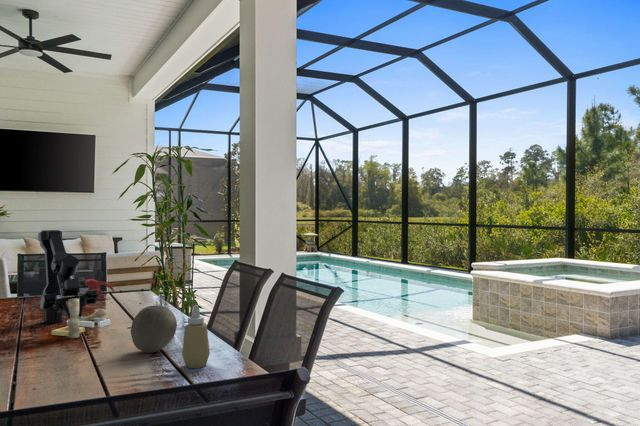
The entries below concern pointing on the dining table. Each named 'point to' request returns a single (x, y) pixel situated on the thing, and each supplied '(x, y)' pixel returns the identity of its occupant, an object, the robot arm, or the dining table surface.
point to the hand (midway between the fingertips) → (74, 317)
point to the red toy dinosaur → (96, 285)
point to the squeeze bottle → (195, 341)
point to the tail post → (74, 318)
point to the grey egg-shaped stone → (153, 328)
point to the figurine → (93, 316)
